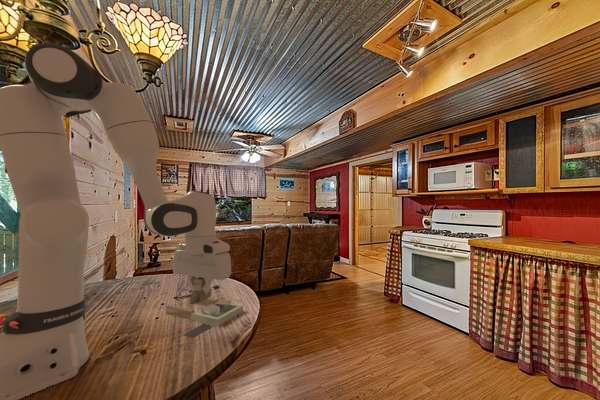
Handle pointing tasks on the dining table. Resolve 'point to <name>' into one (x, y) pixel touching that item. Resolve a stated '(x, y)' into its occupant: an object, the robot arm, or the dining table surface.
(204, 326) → the pad
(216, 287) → the claw hammer
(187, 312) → the slot rails
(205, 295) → the wooden block with peg
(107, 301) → the dining table surface
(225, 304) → the beige cube
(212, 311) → the tan cube
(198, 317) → the open picture frame
